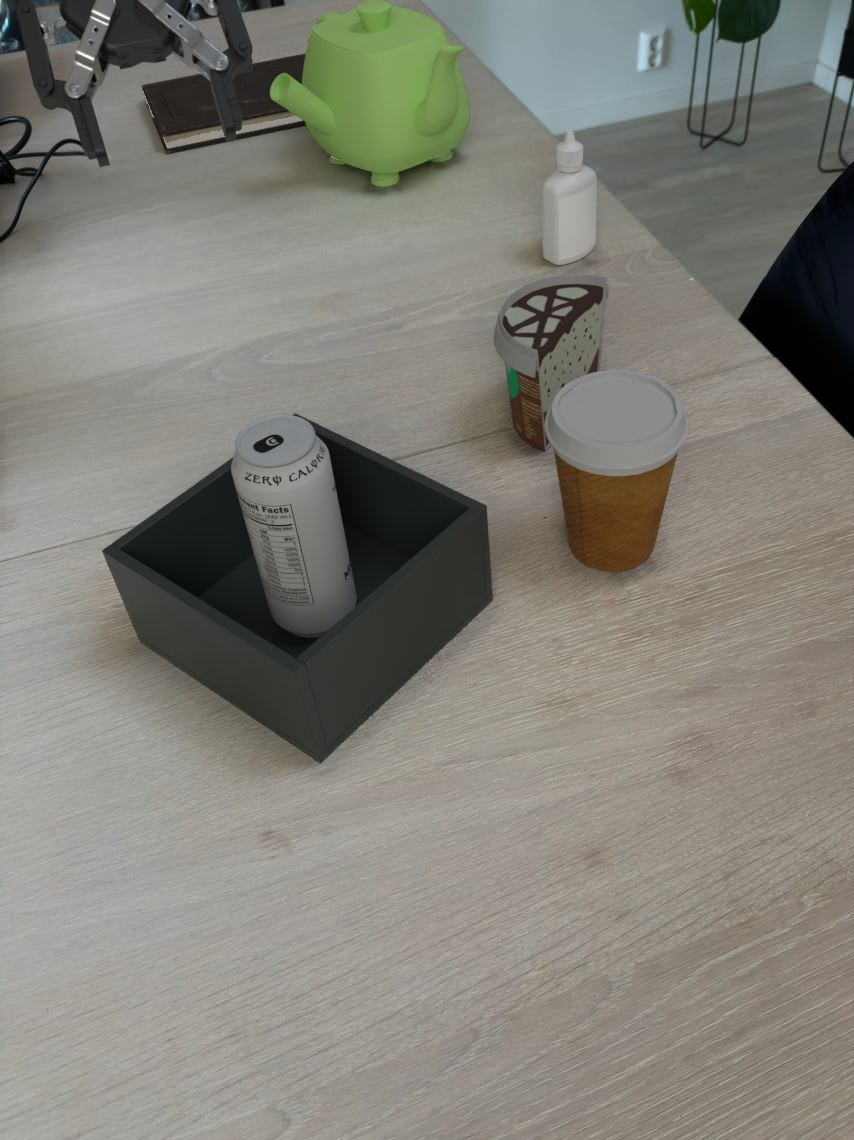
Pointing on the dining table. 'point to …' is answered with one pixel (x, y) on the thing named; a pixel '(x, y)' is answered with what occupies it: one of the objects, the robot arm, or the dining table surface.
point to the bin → (354, 644)
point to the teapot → (379, 89)
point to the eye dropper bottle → (569, 205)
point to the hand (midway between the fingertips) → (168, 149)
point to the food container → (549, 344)
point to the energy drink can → (294, 523)
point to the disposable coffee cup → (615, 463)
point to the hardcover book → (193, 110)
